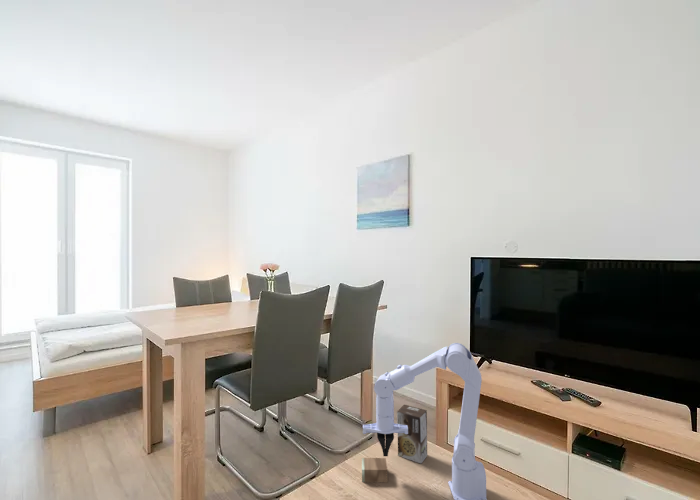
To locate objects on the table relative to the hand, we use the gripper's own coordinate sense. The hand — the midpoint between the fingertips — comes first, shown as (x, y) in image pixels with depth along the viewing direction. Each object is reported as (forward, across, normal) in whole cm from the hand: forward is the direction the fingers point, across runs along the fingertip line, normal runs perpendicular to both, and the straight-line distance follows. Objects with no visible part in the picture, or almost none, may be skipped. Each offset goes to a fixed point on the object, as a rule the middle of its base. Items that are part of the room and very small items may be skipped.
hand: (385, 454), depth 111 cm
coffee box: (+7, -10, -11) cm, 17 cm away
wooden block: (+5, 0, 0) cm, 5 cm away
